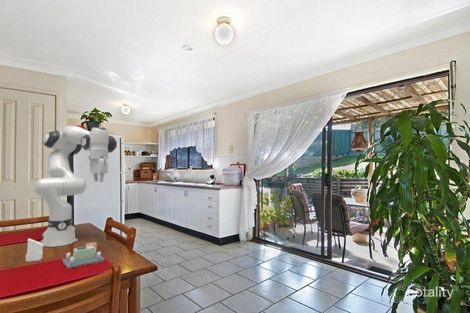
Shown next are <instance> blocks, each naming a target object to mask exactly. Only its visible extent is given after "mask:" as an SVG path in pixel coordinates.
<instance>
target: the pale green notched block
mask: <svg viewBox="0 0 470 313" xmlns="http://www.w3.org/2000/svg"><path fill="white" fill-rule="evenodd" d="M72 257H74V261H75V262H79V261H84V260H89V259H94V258H95V247H93V246H87V247H86V245H84V246H77V247H76V248H73V254H72Z"/></svg>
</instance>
